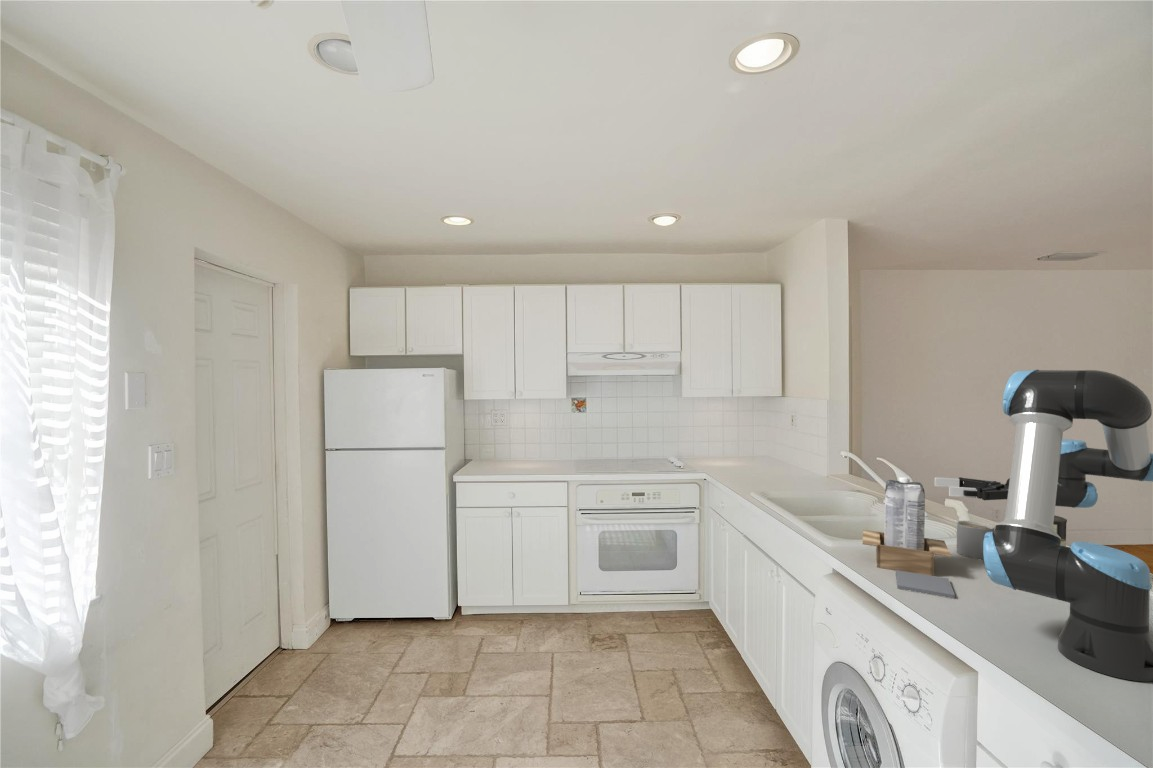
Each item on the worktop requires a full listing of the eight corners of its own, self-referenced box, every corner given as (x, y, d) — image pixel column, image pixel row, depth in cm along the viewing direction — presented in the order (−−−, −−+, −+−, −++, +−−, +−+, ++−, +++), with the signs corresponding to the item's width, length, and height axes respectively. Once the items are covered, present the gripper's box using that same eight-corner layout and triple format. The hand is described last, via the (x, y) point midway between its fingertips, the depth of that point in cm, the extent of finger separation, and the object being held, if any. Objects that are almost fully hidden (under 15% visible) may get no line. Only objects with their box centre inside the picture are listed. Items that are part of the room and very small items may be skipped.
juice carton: (924, 571, 159) (926, 482, 158) (884, 565, 164) (885, 479, 164) (922, 562, 167) (923, 477, 166) (883, 556, 172) (885, 474, 171)
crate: (950, 579, 153) (950, 555, 153) (862, 565, 164) (862, 542, 164) (943, 562, 167) (944, 540, 167) (862, 550, 178) (863, 529, 178)
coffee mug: (959, 556, 172) (959, 526, 172) (954, 547, 181) (954, 519, 181) (1011, 563, 166) (1011, 532, 166) (1003, 554, 175) (1003, 524, 175)
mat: (954, 598, 140) (954, 594, 140) (897, 588, 146) (897, 585, 146) (948, 581, 151) (948, 578, 151) (895, 573, 158) (895, 569, 158)
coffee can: (1051, 555, 174) (1052, 513, 173) (1074, 567, 164) (1075, 522, 163) (1015, 553, 176) (1016, 511, 175) (1036, 564, 166) (1037, 520, 165)
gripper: (1047, 515, 144) (956, 508, 151) (1007, 494, 167) (929, 489, 174) (1048, 487, 143) (956, 482, 150) (1007, 470, 167) (929, 467, 174)
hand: (941, 486), depth 162 cm, fingers open, 13 cm apart
